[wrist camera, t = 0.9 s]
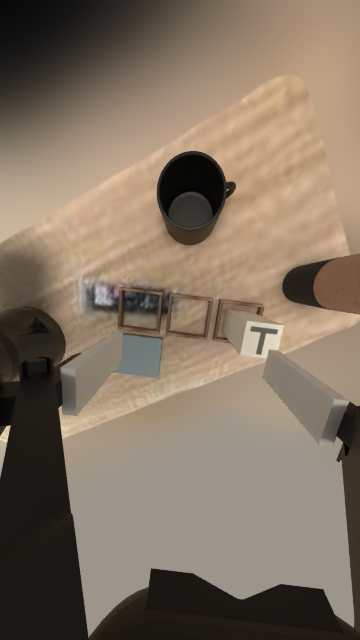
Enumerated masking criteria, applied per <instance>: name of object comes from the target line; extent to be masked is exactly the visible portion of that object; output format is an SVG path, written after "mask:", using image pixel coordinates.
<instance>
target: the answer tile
mask: <svg viewBox="0 0 360 640" xmlns="http://www.w3.org/2000/svg"><path fill="white" fill-rule="evenodd" d="M161 348H162V338H158V337H151V336H143V335H135V334H127V333H123V344H122V361H121V363H120V364H119V365H118V366H117V367H116V369H115V370H114V371H113V372H116V373H124V374H132V375H139V376H147V377H155V378H158V376H159V367H160V358H161Z"/></svg>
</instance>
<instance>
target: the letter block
mask: <svg viewBox="0 0 360 640" xmlns="http://www.w3.org/2000/svg"><path fill="white" fill-rule="evenodd" d="M283 328H284V325H282V324H279V323H277V322H274V321H272V320H270V319H267V318H265V317H262V316H260V315H257V314H255V313H253V312H249V311H241V310H233V309H226V314H225V320H224V326H223V331H222V332H223V333H224V335H225V336H226V337H227V339H228V340H229V341H230V343H231V344H232V345H233V347H234V348H235V349H236V351H237V352H238V353H239V355H242V356H250V357H258V358H266V359H267V356H268V352H269V349H270V350H278V347H279V343H280V340H281V336H282V332H283Z"/></svg>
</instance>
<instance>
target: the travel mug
mask: <svg viewBox="0 0 360 640" xmlns="http://www.w3.org/2000/svg"><path fill="white" fill-rule="evenodd" d="M283 292H284V294H285V296H286V297H287V298H288V299H289V300H291V301H293V302H296V303H300V304H305V305H310V306H314V307H319V308H324V309H329V310H335V311H341V312H347V313H354V314H360V254H357V255H350V256H344V257H339V258H334V259H330V260H325V261H321V262H316V263H312V264H307V265H303V266H299V267H296V268H294V269H293V270H291V271H290V272H289V273H288V274H287V275H286V277H285V279H284V281H283Z"/></svg>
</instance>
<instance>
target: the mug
mask: <svg viewBox="0 0 360 640" xmlns="http://www.w3.org/2000/svg"><path fill="white" fill-rule="evenodd" d="M227 189H229V190H228V191H227ZM235 189H236V184H235V183H234V182H226V180H225V176H224V173H223V171H222V169H221V167H220V166H219V165H218V163H217V162H216V161H215V160H214V159H213V158H212V157H210V156H209V155H207V154H204V153H202V152H197V151H189V152H184V153H181V154H179V155H177V156H175V157H174V158H173V159H171V160H170V161H169V162H168V163H167V164H166V166H165V167H164V169H163V170H162V172H161V175H160V177H159V180H158V185H157V200H158V204H159V208H160V211H161V213H162V216H163V219H164V222H165V225H166V228H167V230H168V232H169V234H170V235H171V236H172V237H173V238H174V239H175V240H176V241H178V242H180V243H182V244H186V245H193V244H197V243H200V242H202V241H203V240H205V239H206V238H207V237H208V236H209V235H210V233H211V232H212V230H213V228H214V226H215V224H216V221H217V219H218V217H219V215H220V213H221V211H222V209H223V206H224V203H225V199H226V198H228V197H229V196H230V195H231V194H232V193H233V192H234V191H235Z"/></svg>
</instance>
